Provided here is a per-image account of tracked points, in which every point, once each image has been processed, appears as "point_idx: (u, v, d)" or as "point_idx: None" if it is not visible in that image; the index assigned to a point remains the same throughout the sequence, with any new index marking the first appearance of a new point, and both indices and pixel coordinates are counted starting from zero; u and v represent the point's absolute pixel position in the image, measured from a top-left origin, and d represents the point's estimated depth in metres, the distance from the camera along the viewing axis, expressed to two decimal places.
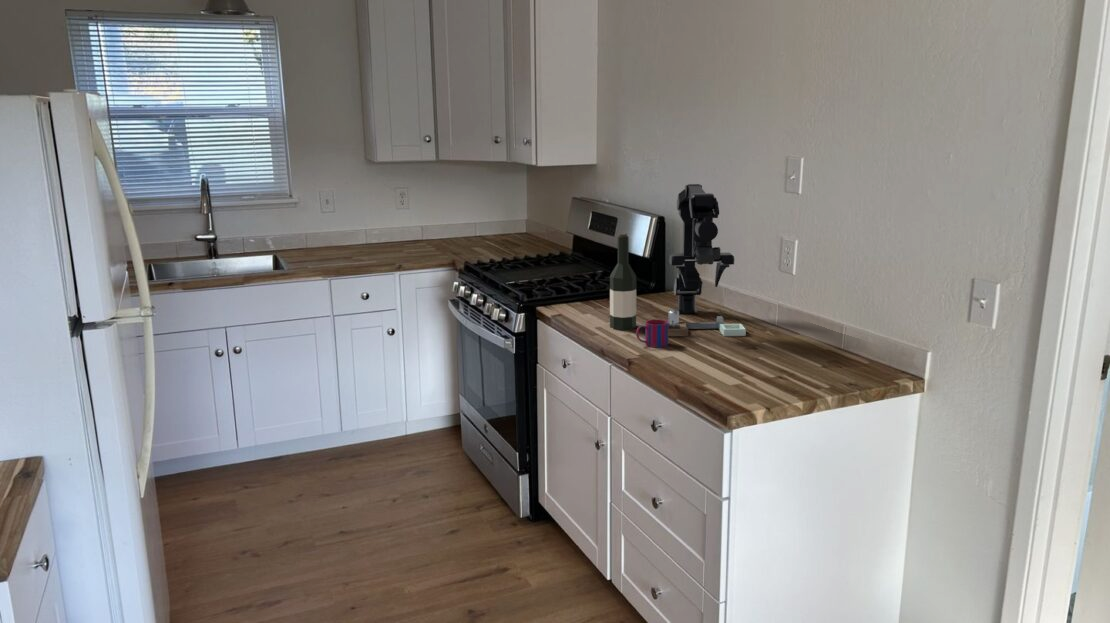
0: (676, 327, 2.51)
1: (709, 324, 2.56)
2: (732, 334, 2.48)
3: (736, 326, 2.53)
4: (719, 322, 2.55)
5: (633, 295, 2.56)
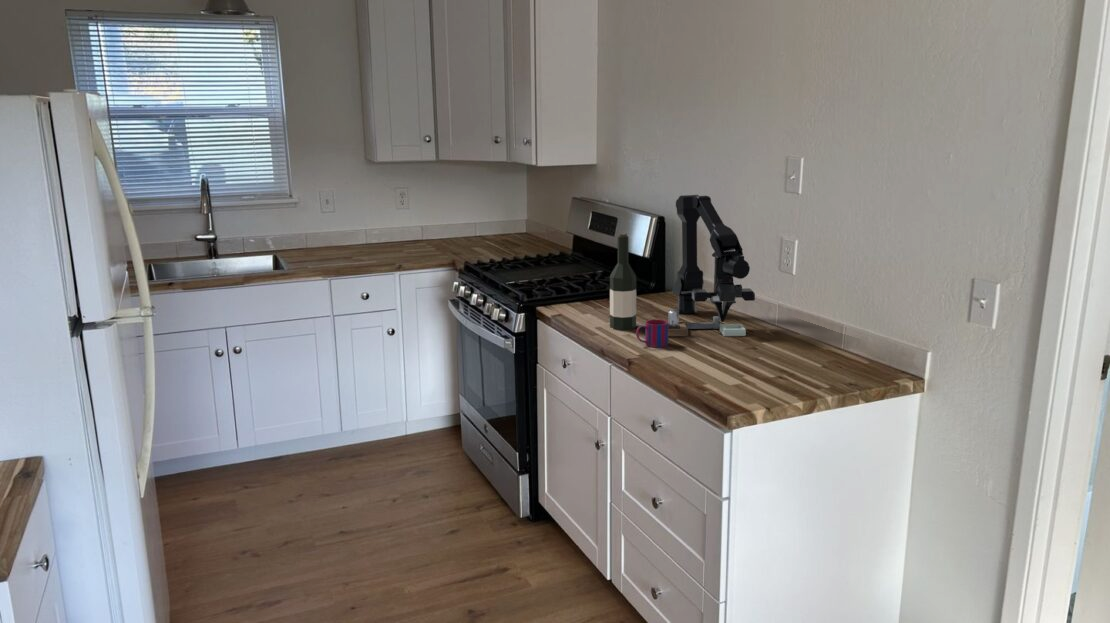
0: (676, 327, 2.51)
1: (705, 324, 2.56)
2: (732, 334, 2.48)
3: (736, 326, 2.53)
4: (715, 322, 2.55)
5: (633, 295, 2.56)
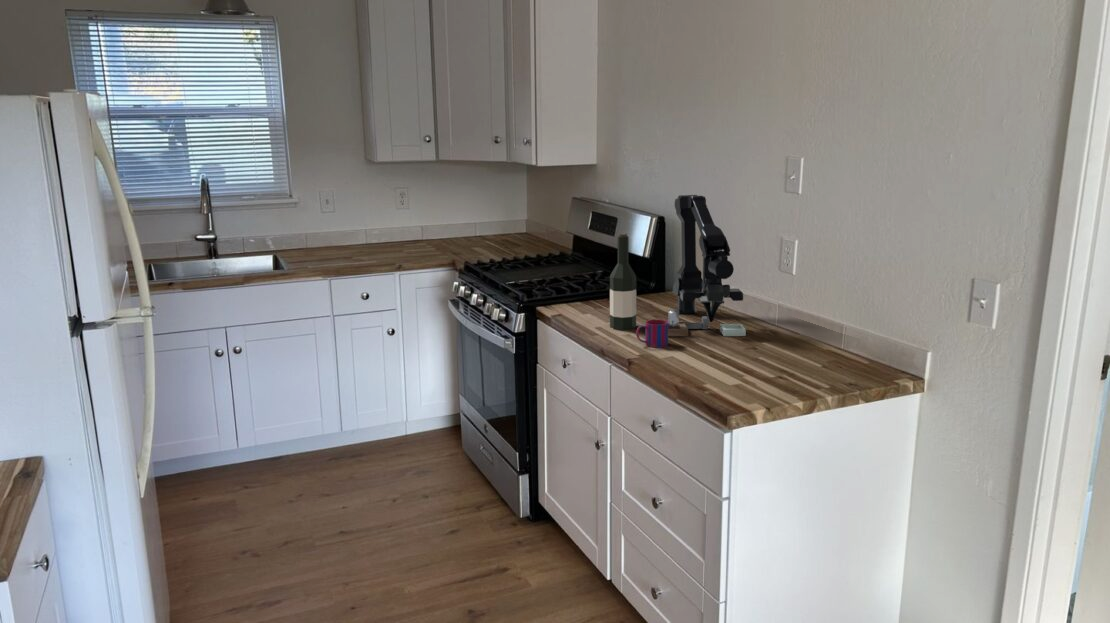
0: (676, 327, 2.51)
1: (694, 324, 2.56)
2: (732, 334, 2.48)
3: (736, 326, 2.53)
4: (704, 322, 2.55)
5: (633, 295, 2.56)
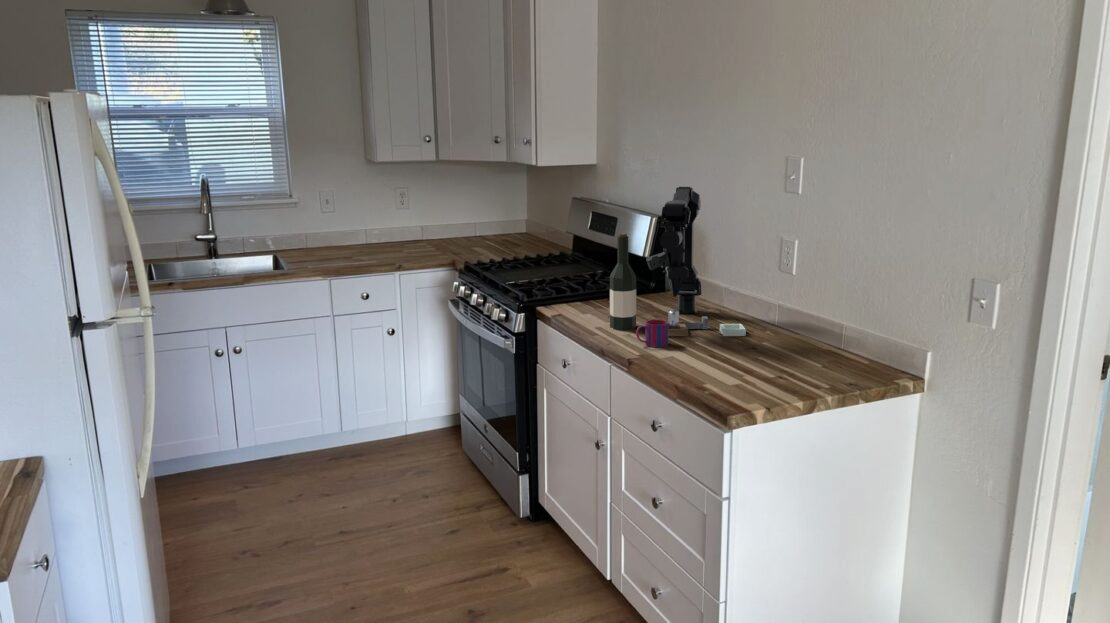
0: (676, 327, 2.51)
1: (694, 324, 2.56)
2: (732, 334, 2.48)
3: (736, 326, 2.53)
4: (704, 322, 2.55)
5: (633, 294, 2.56)
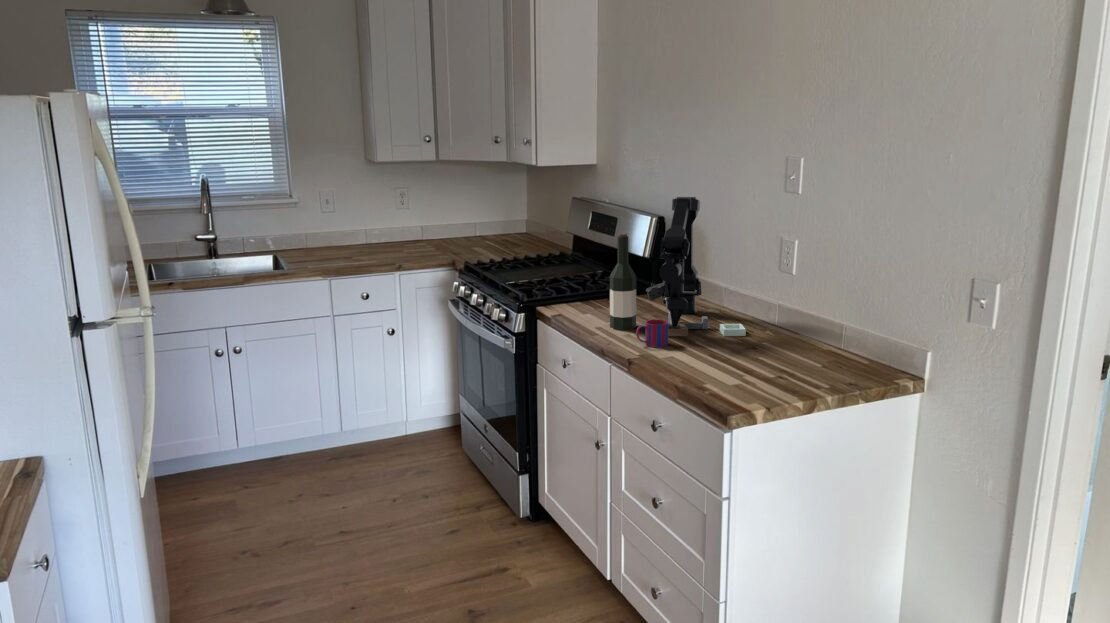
0: (676, 327, 2.51)
1: (694, 324, 2.56)
2: (732, 334, 2.48)
3: (736, 326, 2.53)
4: (704, 322, 2.55)
5: (633, 295, 2.56)
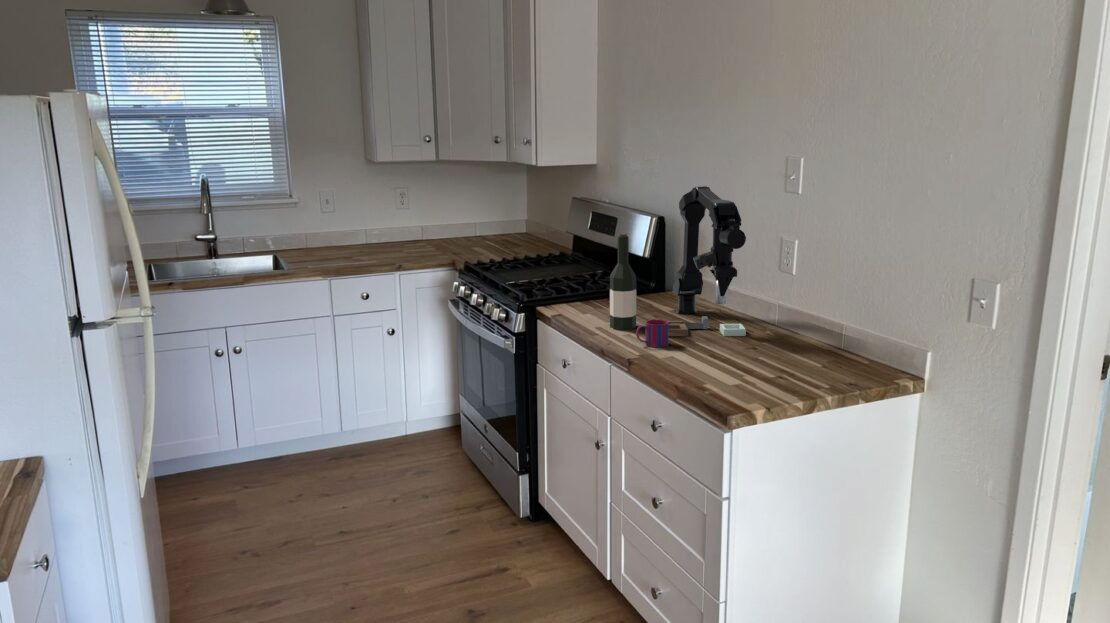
0: (724, 296, 2.47)
1: (694, 324, 2.56)
2: (732, 334, 2.48)
3: (736, 326, 2.53)
4: (704, 322, 2.55)
5: (633, 295, 2.56)
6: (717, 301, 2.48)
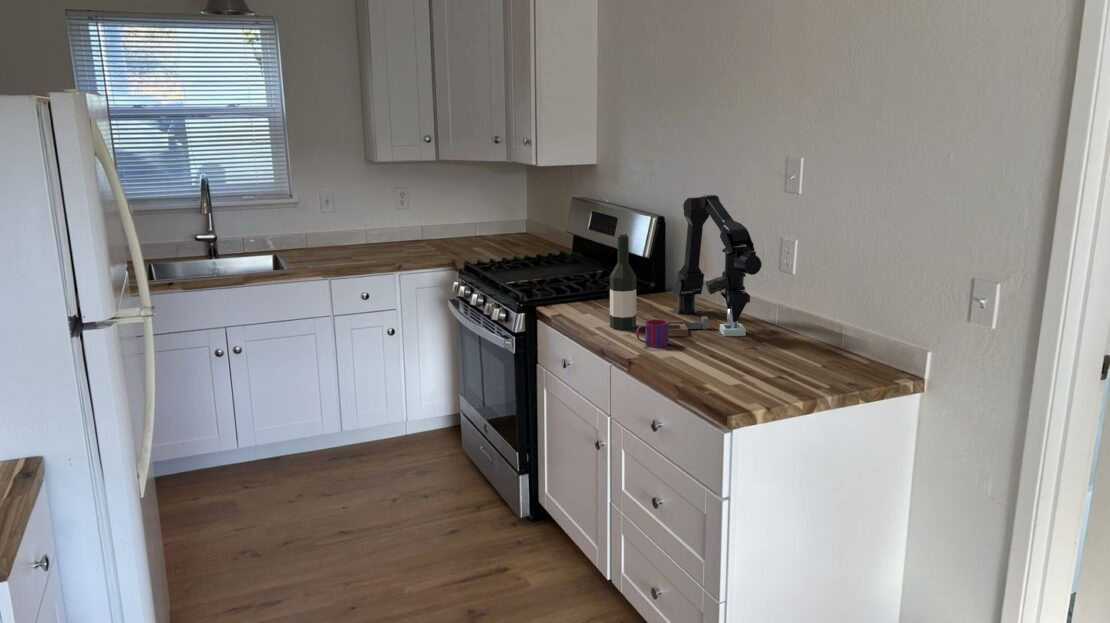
0: (735, 325, 2.49)
1: (694, 324, 2.56)
2: (732, 334, 2.48)
3: None
4: (704, 322, 2.55)
5: (633, 295, 2.56)
6: None
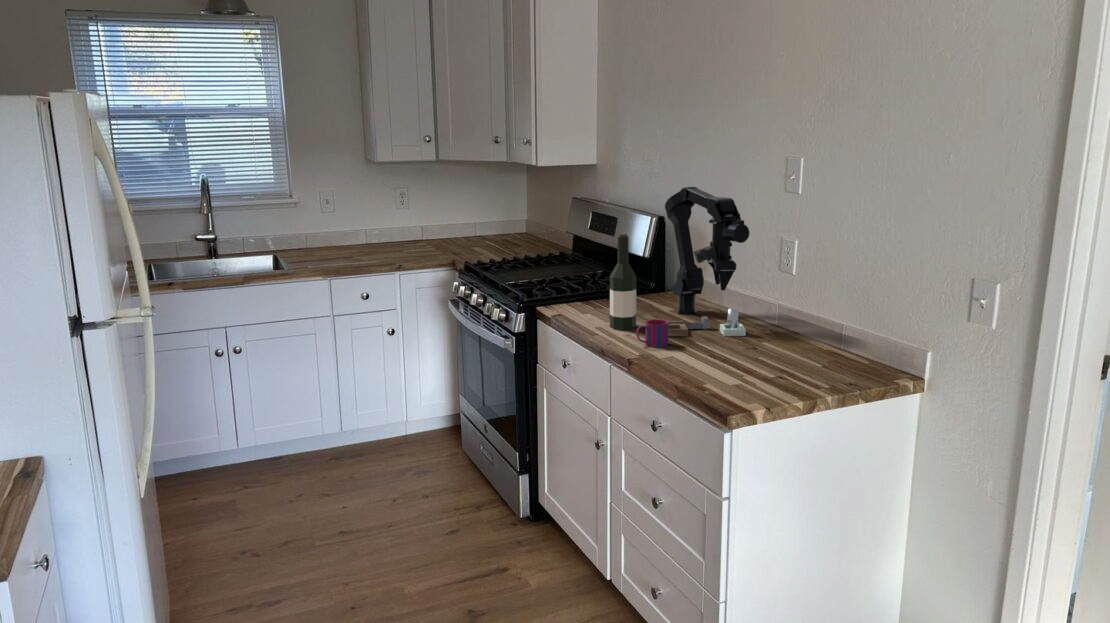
0: (735, 325, 2.49)
1: (694, 324, 2.56)
2: (732, 334, 2.48)
3: None
4: (704, 322, 2.55)
5: (633, 295, 2.56)
6: None
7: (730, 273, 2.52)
